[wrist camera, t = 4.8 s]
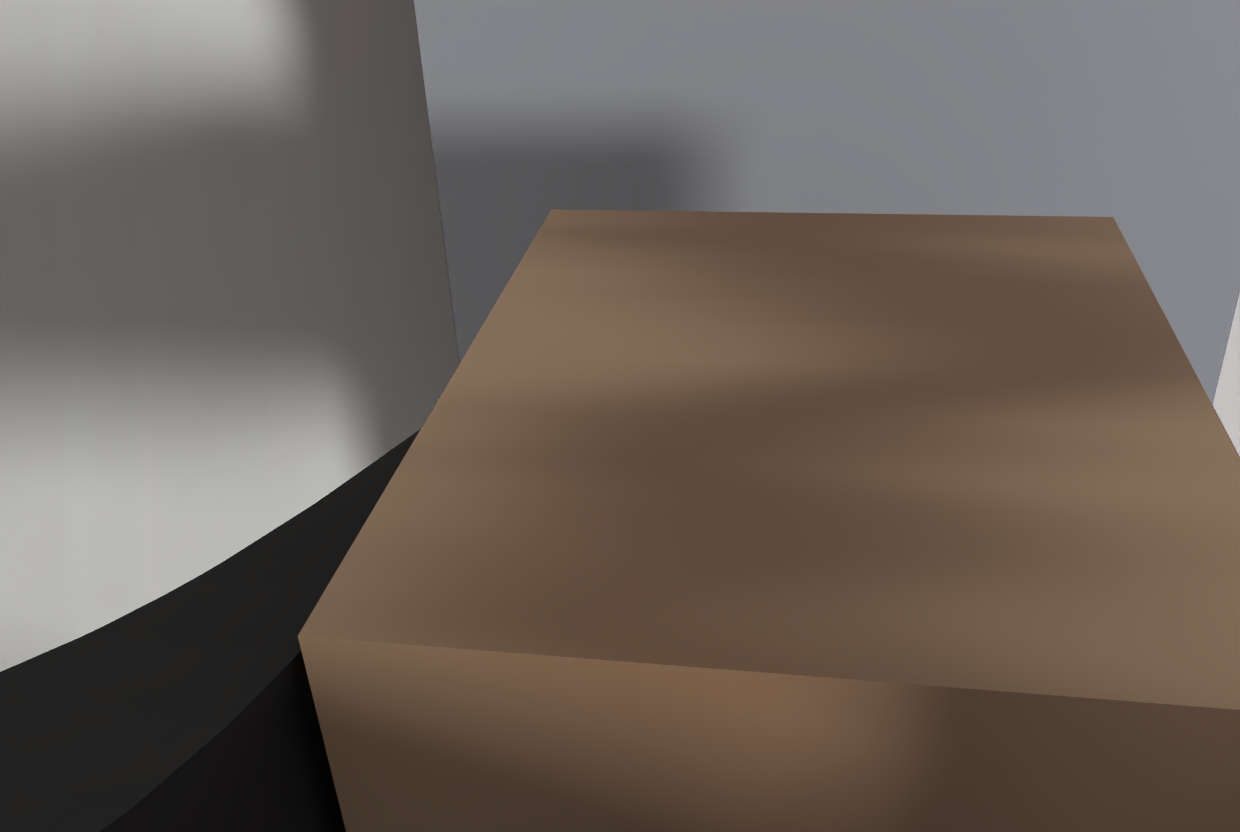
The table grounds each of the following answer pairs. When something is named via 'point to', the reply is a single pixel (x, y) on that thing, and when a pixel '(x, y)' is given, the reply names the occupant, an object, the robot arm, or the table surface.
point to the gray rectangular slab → (844, 124)
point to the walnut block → (799, 544)
